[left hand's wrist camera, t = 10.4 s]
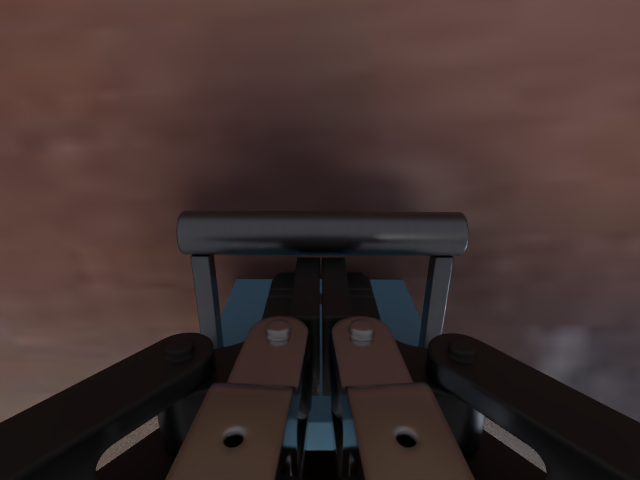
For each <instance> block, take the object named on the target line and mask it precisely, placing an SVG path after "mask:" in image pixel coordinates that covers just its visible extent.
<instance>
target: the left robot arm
mask: <svg viewBox="0 0 640 480" xmlns="http://www.w3.org/2000/svg"><path fill="white" fill-rule="evenodd" d="M322 386H323V396H331V429H332V437H333V445H334V453H335V461H336V468H337V476H338V479H336V480H640V423H639V422H637V421H635V420H633V419H631V418H629V417H627V416H625V415H623V414H621V413H619V412H618V411H616V410H614V409H612V408H610V407H608V406H606V405H604V404H602V403H600V402H598V401H596V400H594V399H592V398H590V397H588V396H586V395H584V394H582V393H581V392H579V391H577V390H575V389H573V388H571V387H569V386H567V385H565V384H563V383H561V382H559V381H557V380H555V379H553V378H551V377H549V376H547V375H545V374H544V373H542V372H540V371H538V370H536V369H534V368H532V367H530V366H528V365H526V364H524V363H522V362H520V361H518V360H516V359H514V358H512V357H510V356H508V355H507V354H505V353H503V352H501V351H499V350H497V349H495V348H493V347H491V346H489V345H487V344H485V343H483V342H481V341H479V340H477V339H475V338H472V337H470V336H466V335H462V334H453V333H450V334H441V335H438V336H436V337H434V338H433V339H431V341H430V342H429V344H428V349H427V348H422V347H417V346H412V345H408V344H405V343H402V342H400V341H398V340H396V339H394V337H393V335H392V332H391V330H390V328H389V327H388V326H387V325H386V324H385V323H383V322H382V321H381V319H380V315H379V311H378V308H377V304H376V300H375V298H374V293H373V290H372V286H371V282H370V280H369V279H368V278H367V277H366V276H365V275H364V274H362V273H361V272H347V270H346V264H345V258H322ZM312 396H320V258H297V264H296V271H295V272H281V273H280V274H278V275H277V276H276V277H275V278H274V279H273V280H272V282H271V286H270V291H269V294H268V298H267V302H266V305H265V309H264V313H263V317H262V320H260V321H258V322H257V323H255V324H254V325H253V326H252V327H251V328H250V330H249V332H248V335H247V337H246V339H245V341H243V342H241V343H238V344H235V345H231V346H227V347H222V348H217V349H214V347H213V342H212V341H211V339H210V338H209V337H207V336H205V335H203V334H199V333H181V334H176V335H173V336H170V337H167V338H165V339H163V340H161V341H159V342H157V343H155V344H153V345H151V346H149V347H147V348H145V349H143V350H141V351H139V352H137V353H135V354H134V355H132V356H130V357H128V358H126V359H124V360H122V361H120V362H118V363H116V364H114V365H112V366H110V367H108V368H106V369H104V370H102V371H100V372H98V373H97V374H95V375H93V376H91V377H89V378H87V379H85V380H83V381H81V382H79V383H77V384H75V385H73V386H71V387H69V388H67V389H65V390H63V391H61V392H60V393H58V394H56V395H54V396H52V397H50V398H48V399H46V400H44V401H42V402H40V403H38V404H36V405H34V406H32V407H30V408H28V409H26V410H24V411H23V412H21V413H19V414H17V415H15V416H13V417H11V418H9V419H7V420H5V421H3V422H1V423H0V480H304V479H302V476H303V468H304V461H305V453H306V445H307V437H308V429H309V413H310V411H311V407H312ZM156 415H157V416H158V421H159V426H160V428H158V429H157V430H155V431H154V432H152V433H151V434H150V435H148V436H147V437H145V438H144V439H142V440H141V441H139V442H138V443H137V444H135V445H134V446H132V447H131V448H129V449H128V450H127V451H125V452H124V453H122V454H121V455H119V456H118V457H116V458H115V459H114V460H112V461H111V462H109V463H108V464H106V465H105V466H104V467H102V468H101V469H99V470H98V471H96V466H97V463H98V461H99V459H100V457H101V456H102V454H103V453H104V452H105V451H106V450H107V449H108V448H109V447H110V446H111V445H113V444H114V443H116V442H117V441H119V440H120V439H122V438H123V437H125V436H126V435H128V434H129V433H131V432H132V431H134V430H135V429H137V428H138V427H140V426H141V425H143V424H144V423H146V422H147V421H149V420H150V419H152V418H153V417H155V416H156ZM485 417H487V418H488V419H490V420H491V421H493V422H494V423H496V424H497V425H499V426H500V427H502V428H503V429H505V430H506V431H508V432H509V433H511V434H512V435H514V436H515V437H517V438H518V439H520V440H521V441H523V442H524V443H526V444H527V445H529V446H530V447H532V448H533V449H534V450H535V451H536V452H537V453H538V454H539V455H540V457H541V458H542V460H543V462H544V464H545V466H546V470H547V473H545V472H544V471H542V470H541V469H539V468H538V467H537V466H535V465H534V464H532V463H531V462H529V461H528V460H526V459H525V458H524V457H522V456H521V455H519V454H518V453H516V452H515V451H513V450H512V449H511V448H509V447H508V446H506V445H505V444H503V443H502V442H501V441H499V440H498V439H496V438H495V437H493V436H492V435H490V434H489V433H488V432H486V431H485V430H483V426H484V421H485Z"/></svg>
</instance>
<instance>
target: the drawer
mask: <svg viewBox="0 0 640 480" xmlns="http://www.w3.org/2000/svg"><path fill="white" fill-rule="evenodd" d="M177 242H178V246H179V249H180V251H181V252H182V253H183V254H192V255H191V264H192V271H193V279H194V286H195V294H196V301H197V309H198V316H199V324H200V331H201V334H203V335H205V336H207V337H209V338H210V339H211V341H212V342H213V347H214V349H217V348H222V347H227V346H231V345H235V344H238V343H241V342H243V341H245V339H246V337H247V335H248V332H249V330H250V328H251V327H252V326H253V325H254V324H255V323H257V322H258V321H260V320H262V317H263V313H264V309H265V305H266V302H267V298H268V294H269V291H270V286H271V282H272V280H273V279H236V280H235V283H234V285H233V288H232V290H231V292H230V295H229V297H228V300H227V302H226V304H225V307H224V309H223V312H222V314H221V316H220V308H219V298H218V289H217V280H216V270H215V261H214V254H218V255H415V256H430V261H429V268H428V276H427V283H426V291H425V298H424V306H423V314H422V321H421V319H420V317H419V314H418V312H417V310H416V308H415V305H414V303H413V301H412V299H411V297H410V294H409V292H408V290H407V288H406V285H405V283H404V281H403V280H370V282H371V286H372V290H373V293H374V298H375V300H376V304H377V308H378V311H379V315H380V319H381V321H382V322H383V323H385V324H386V325H387V326H388V327H389V328H390V330H391V332H392V335H393V337H394V339H396V340H398V341H400V342H402V343H405V344H408V345H412V346H417V347H422V348H427V349H428V344H429V342H430V341H431V339H433V338H434V337H436V336H438V335H441V334H442V328H443V322H444V316H445V309H446V303H447V297H448V290H449V284H450V278H451V271H452V265H453V259H454V258H453V256H460V255H462V254H463V253H464V252H465V250H466V247H467V243H468V224H467V220H466V217H465V216H464V214H462V213H460V212H308V211H183V212H182V213H181V214H180V216H179V218H178V223H177ZM302 479H304V480H336V479H338V476H337V468H336V461H335V453H334V445H333V437H332V429H331V396H323V386H322V279H320V396H312V407H311V411H310V413H309V429H308V437H307V445H306V453H305V461H304V468H303V476H302Z"/></svg>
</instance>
